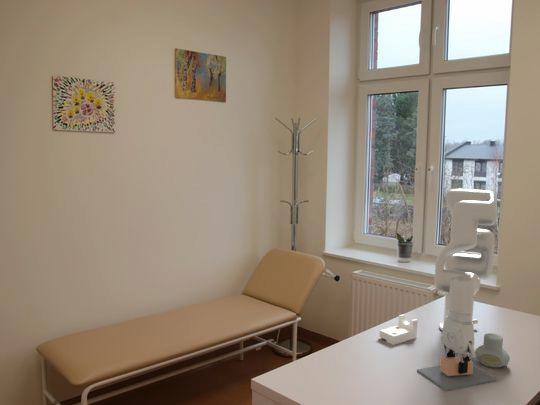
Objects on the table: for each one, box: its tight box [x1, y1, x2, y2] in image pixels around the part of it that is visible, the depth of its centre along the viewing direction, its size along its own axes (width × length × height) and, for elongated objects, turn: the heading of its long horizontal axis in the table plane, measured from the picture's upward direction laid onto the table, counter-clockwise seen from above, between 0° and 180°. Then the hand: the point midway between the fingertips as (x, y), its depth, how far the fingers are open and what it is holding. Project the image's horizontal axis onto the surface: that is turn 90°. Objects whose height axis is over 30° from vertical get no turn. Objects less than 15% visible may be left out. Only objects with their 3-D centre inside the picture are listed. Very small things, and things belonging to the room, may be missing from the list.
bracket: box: [379, 314, 418, 346], centre depth 193 cm, size 13×7×8 cm, turn 124°
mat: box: [416, 364, 497, 392], centre depth 163 cm, size 20×14×1 cm
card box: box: [439, 356, 474, 376], centre depth 162 cm, size 4×9×4 cm, turn 101°
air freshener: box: [474, 333, 511, 369], centre depth 171 cm, size 11×8×10 cm
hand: (456, 368), depth 163 cm, fingers closed on card box, 5 cm apart
